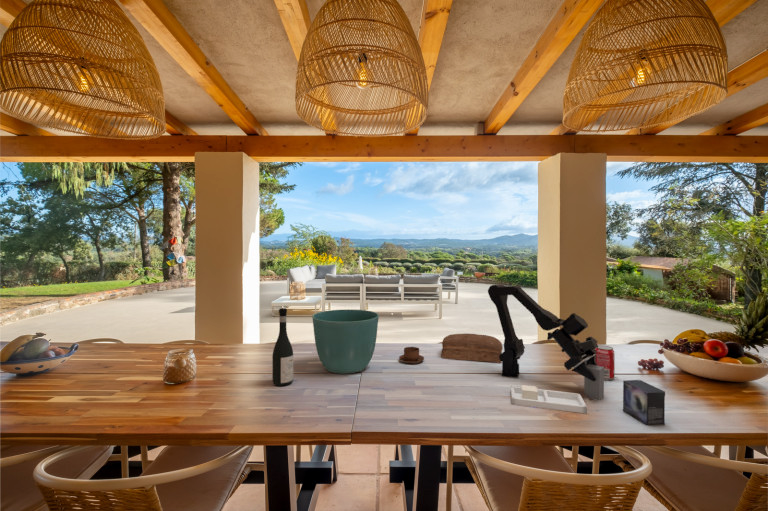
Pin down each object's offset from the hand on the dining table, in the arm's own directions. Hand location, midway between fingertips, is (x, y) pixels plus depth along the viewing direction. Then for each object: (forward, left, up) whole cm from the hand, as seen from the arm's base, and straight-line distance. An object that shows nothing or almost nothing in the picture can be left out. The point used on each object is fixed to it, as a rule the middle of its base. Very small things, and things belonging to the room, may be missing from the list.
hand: (598, 378), depth 135 cm
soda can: (+8, +25, -7) cm, 27 cm away
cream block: (-24, -12, -6) cm, 28 cm away
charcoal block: (-1, +1, -7) cm, 7 cm away
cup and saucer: (-75, +22, -7) cm, 78 cm away
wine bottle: (-117, -23, -7) cm, 120 cm away
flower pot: (-101, +3, -7) cm, 102 cm away
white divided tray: (-19, -12, -7) cm, 24 cm away
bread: (-48, +39, -8) cm, 62 cm away
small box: (+10, -13, -7) cm, 18 cm away
